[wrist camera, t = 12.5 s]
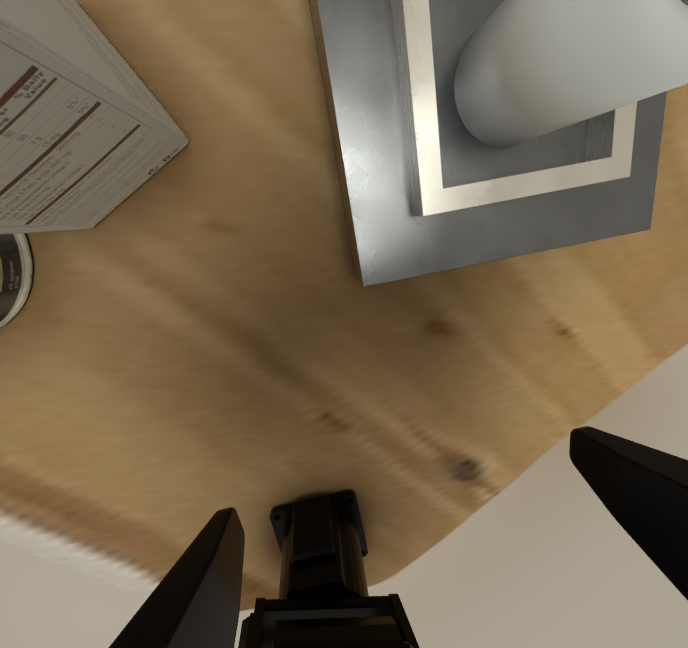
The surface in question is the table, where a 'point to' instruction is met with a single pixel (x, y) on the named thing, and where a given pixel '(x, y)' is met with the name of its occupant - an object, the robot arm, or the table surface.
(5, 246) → the coffee can
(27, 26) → the supplement box
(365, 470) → the table surface
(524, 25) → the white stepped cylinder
